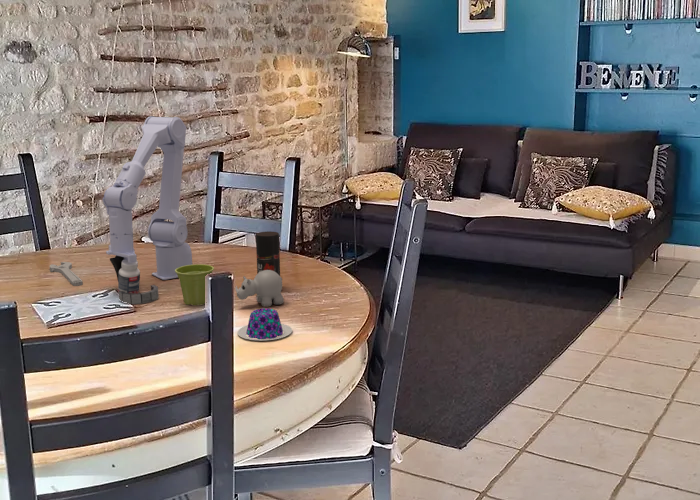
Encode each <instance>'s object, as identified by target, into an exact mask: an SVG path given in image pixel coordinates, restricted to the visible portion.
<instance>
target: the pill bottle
mask: <svg viewBox="0 0 700 500" xmlns="http://www.w3.org/2000/svg"><path fill="white" fill-rule="evenodd" d="M121 266H122V268H121V269H120V270H119V277H118V280H117V283H118V284H117V287H118V288H117V292H118V291H124V292H125V293H140V281H141V279H140V278H141V271H140V269H139V268H138V267H139V262H138V260H137V262H132V263H129V262H128V260H126V259H124V260H122V265H121ZM118 294H119V292H118Z"/></svg>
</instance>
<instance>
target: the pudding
mask: <svg viewBox="0 0 700 500" xmlns="http://www.w3.org/2000/svg"><path fill="white" fill-rule="evenodd" d="M280 319H281V318H280V316H279V312H278V311H277V309H273V308H269V307H267V308H266V307H265V308H264V307H262V308H258V309H254V310H253V311H251V312H250V315H249V318H248V324H247V325H244V326H243V327H240V328H239V329H238V330H237V335H238V336H239V337H240V338H242V339H245V340H251V341H259V342H260V341H262V342H263V341H274V340H280V339H283V338H285V337H287V336H289V335H291V334H292V332H293V328H292V327H291V326H289V325H287V324H285V323H282V322H281V320H280Z"/></svg>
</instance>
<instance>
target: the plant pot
mask: <svg viewBox="0 0 700 500" xmlns="http://www.w3.org/2000/svg"><path fill="white" fill-rule="evenodd" d="M214 270H215V267H214V266H212V265H210V264H204V263H199V264H192V265H186V266H182V267H179V268H177V269H175V272H176V273H177V275H178V278H177V279H178V280H179V284H180V290H181V292H182V293H181V295H182V299H183V303H184V304H185V305H187V306H189V305H192V306H202V305H205V304H204V303H205V276H206V275H207V274H210V273H212V274H213V271H214Z"/></svg>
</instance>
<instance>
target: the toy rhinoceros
mask: <svg viewBox="0 0 700 500" xmlns="http://www.w3.org/2000/svg"><path fill="white" fill-rule="evenodd" d="M234 289H235V290H234V291H235V292H236V297H237V298H238V299H239V300H243V301H244V300H245V299H247V298H248V297H252V296H254V295H256V302H257V303H259V304H261V306H262V307H263V308H264V307H265V308H266V307H267V308H269V307H271V306H272V305H273V304H274V305H276V306H277V305H281V304H283V303H284V302H285V301H284V300H285V299H284V296H283V294H282V289H283V278H282V277H281V275H280V276H279V275H278V274H277V273H276V272H274V271H272V270H264V271H261V272H259V273H258V274H256V275H255V277H254V278H253V279H251V278H247V277H246V276H245V275H244V276H243V281H242V282H241V286H240V287H239V288H238V285H236V286H235V288H234Z"/></svg>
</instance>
